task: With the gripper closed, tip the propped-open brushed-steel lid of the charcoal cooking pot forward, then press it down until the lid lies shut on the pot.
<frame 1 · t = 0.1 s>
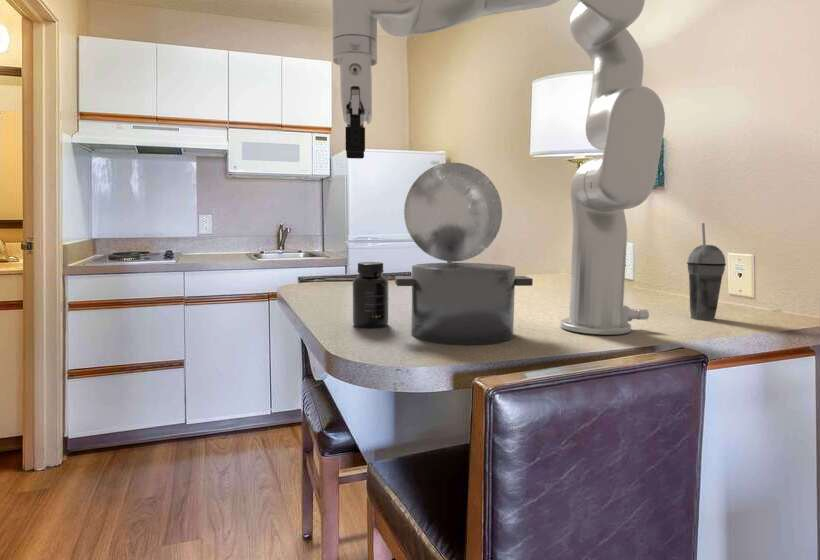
hand: (355, 155, 97), 31 cm above the countertop, tool pointing down, fingers open, 9 cm apart
beverage cup: (702, 319, 117), on the countertop
cooker pot: (461, 333, 99), on the countertop
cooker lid: (452, 212, 108), point 22 cm above the countertop, hinge at 95.0°
supplement bottle: (370, 326, 106), on the countertop
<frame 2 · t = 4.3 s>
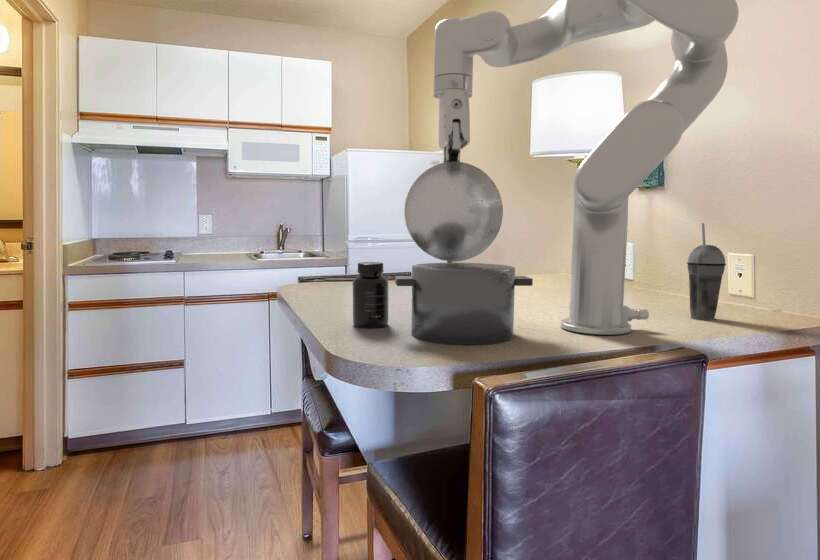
hand: (451, 184, 110), 27 cm above the countertop, tool pointing down, fingers closed
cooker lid: (453, 212, 107), point 22 cm above the countertop, hinge at 91.4°, touching gripper
everything else where it was.
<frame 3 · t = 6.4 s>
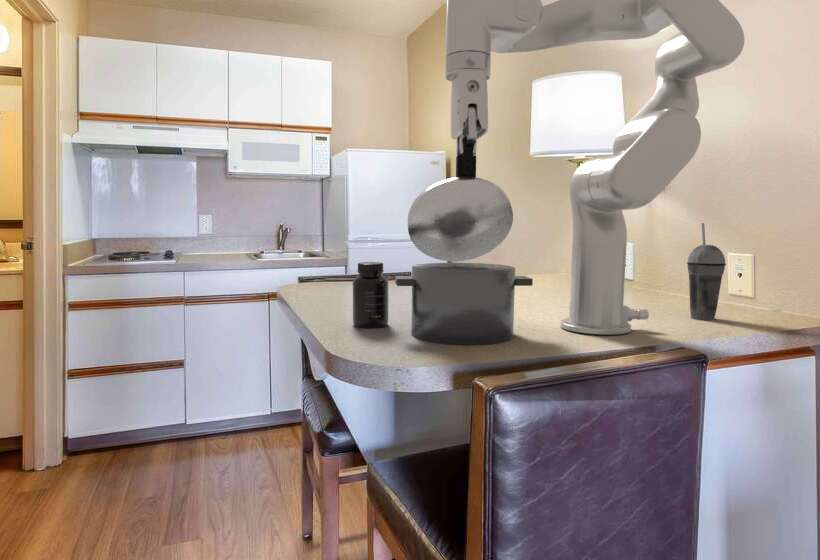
hand: (465, 179, 95), 27 cm above the countertop, tool pointing down, fingers closed
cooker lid: (459, 219, 101), point 20 cm above the countertop, hinge at 48.8°, touching gripper
everything else where it was.
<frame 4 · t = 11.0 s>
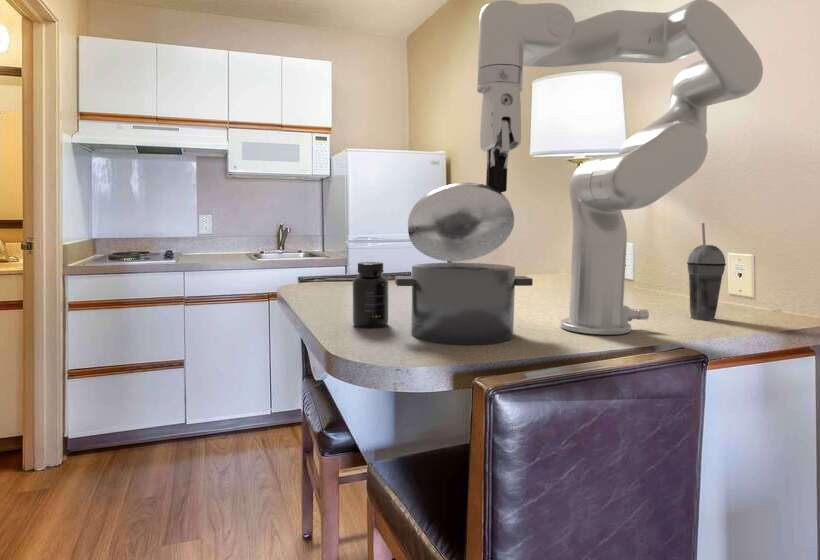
hand: (496, 191, 96), 25 cm above the countertop, tool pointing down, fingers closed
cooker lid: (460, 222, 100), point 20 cm above the countertop, hinge at 43.6°
everything else where it was.
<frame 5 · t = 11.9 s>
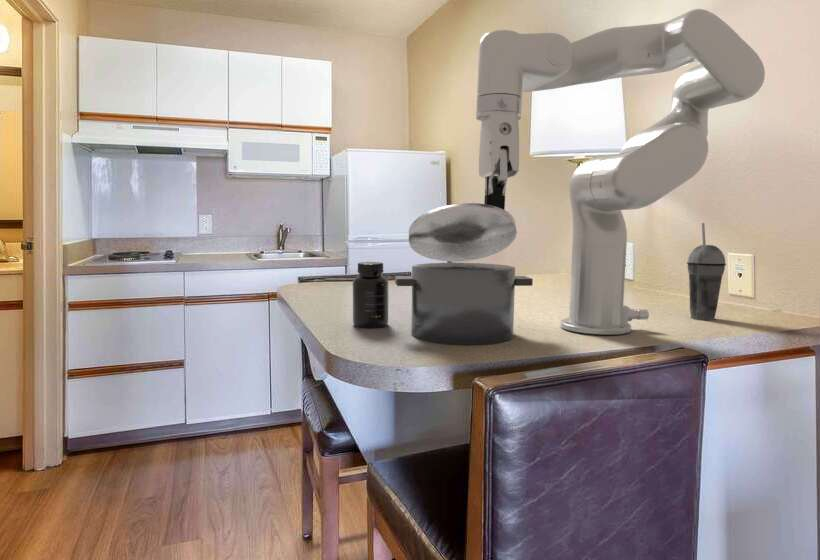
hand: (493, 218, 96), 20 cm above the countertop, tool pointing down, fingers closed
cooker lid: (461, 231, 99), point 18 cm above the countertop, hinge at 29.6°, touching gripper
everything else where it was.
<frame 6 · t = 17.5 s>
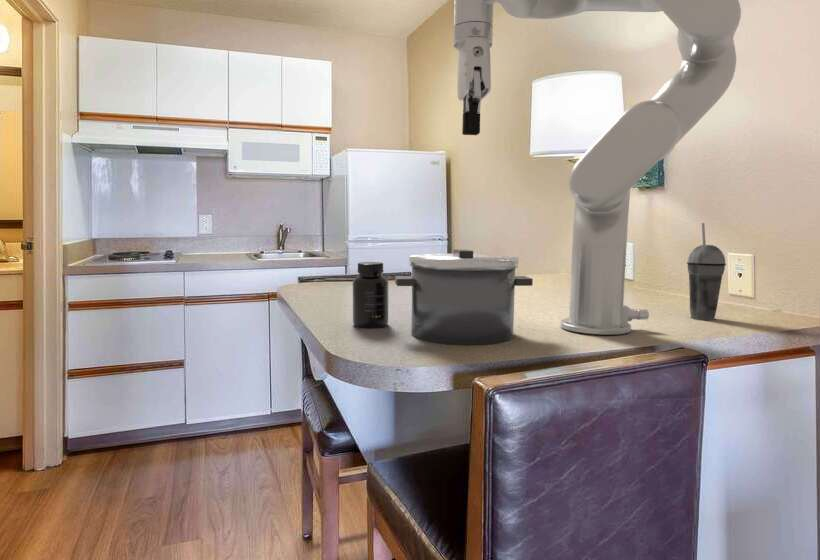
hand: (471, 134, 110), 37 cm above the countertop, tool pointing down, fingers closed
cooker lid: (463, 257, 97), point 14 cm above the countertop, hinge at -0.1°
everything else where it was.
at the end: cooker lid at +0° (first picture: +95°); supplement bottle moved 0.2 cm from its start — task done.
